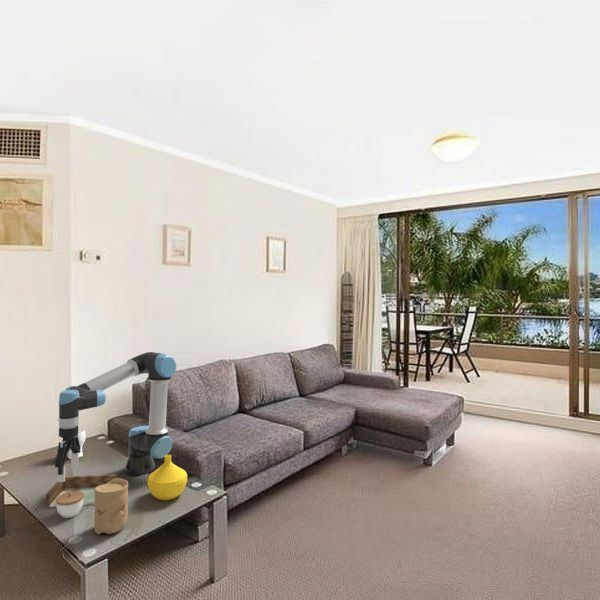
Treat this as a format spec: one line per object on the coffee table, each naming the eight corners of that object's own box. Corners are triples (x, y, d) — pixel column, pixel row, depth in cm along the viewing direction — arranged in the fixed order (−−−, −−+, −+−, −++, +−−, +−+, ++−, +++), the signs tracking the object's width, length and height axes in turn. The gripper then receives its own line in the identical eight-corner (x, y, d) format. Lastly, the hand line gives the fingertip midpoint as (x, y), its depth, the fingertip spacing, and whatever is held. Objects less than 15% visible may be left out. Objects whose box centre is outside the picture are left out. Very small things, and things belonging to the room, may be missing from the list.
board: (118, 486, 210) (118, 484, 209) (106, 504, 192) (106, 503, 192) (62, 488, 206) (62, 487, 206) (45, 507, 188) (45, 506, 188)
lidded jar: (64, 523, 176) (64, 501, 175) (50, 516, 181) (50, 494, 181) (88, 512, 185) (89, 491, 184) (75, 505, 190) (75, 485, 190)
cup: (73, 452, 250) (73, 427, 250) (89, 453, 249) (89, 428, 248) (60, 459, 240) (60, 433, 239) (77, 461, 238) (77, 435, 238)
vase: (146, 490, 206) (146, 451, 205) (184, 483, 213) (184, 446, 213) (148, 508, 189) (148, 466, 189) (189, 500, 196) (190, 460, 196)
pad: (112, 487, 206) (112, 487, 206) (102, 502, 192) (102, 501, 192) (81, 489, 204) (81, 488, 204) (70, 503, 190) (70, 503, 190)
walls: (118, 486, 210) (118, 474, 209) (106, 504, 192) (106, 491, 192) (62, 488, 206) (62, 476, 206) (45, 507, 188) (45, 494, 188)
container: (87, 532, 169) (87, 489, 169) (111, 517, 181) (111, 476, 181) (111, 540, 165) (111, 494, 164) (134, 523, 177) (134, 481, 176)
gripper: (71, 417, 195) (71, 463, 195) (45, 436, 170) (45, 488, 170) (88, 417, 196) (88, 462, 196) (65, 435, 171) (64, 487, 171)
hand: (68, 474), depth 183 cm, fingers open, 13 cm apart
